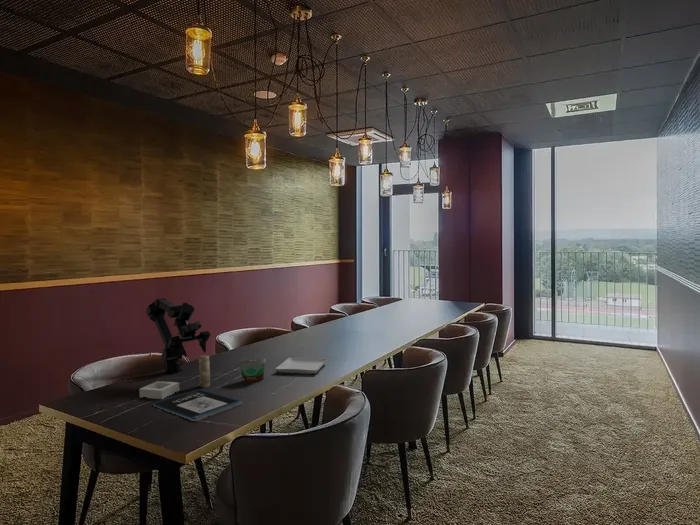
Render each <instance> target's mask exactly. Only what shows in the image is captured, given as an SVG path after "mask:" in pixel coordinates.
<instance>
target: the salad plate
mask: <svg viewBox="0 0 700 525" xmlns="http://www.w3.org/2000/svg"><path fill="white" fill-rule="evenodd" d="M328 360H329V359H328V358H321V357H320V358H319V357H298V356H296V357H288V358H286V360H284V361H283V362H282V363H280V364H279V365H278V366H276V367H275V371H277V372H279V373H283V374H294V373H301V374H300V375H303V374H304V375H314V374H316V373H318V372H319V370H320V369H321V368H322V367H323V366H325V364H326V363H327V362H328Z"/></svg>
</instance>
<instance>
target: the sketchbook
mask: <svg viewBox="0 0 700 525" xmlns="http://www.w3.org/2000/svg"><path fill="white" fill-rule="evenodd" d="M152 405H153V407H155V408H158V409H160V410H162V409H163V410H162V411H165V412H168V413H170V412H171V413H170V414H173V415H175V414H176V416H178V415H179V416H178V417H180V416H181V417H180V418H183V417H184V419H186V418H187V419H186V420H188V419H189V420H188V421H191V422H193V421H195V422H197V421H198V422H199V421H202V420H205V419H207V418H210V417H211V418H212V416H215V415H217V414H218V413H219V412H220V413H222V412H221V411H223V412H224V410H225V412H227V411H229V410H230V409H231V410H232V409H235V406H236V407H240V406H241V405H242V406H244V402H243V401H242V400H239V399H236V398H231V397H228V396H224V395H221V394H217V393H214V392H211V391H207V390H203V389H200V388H199V389H195V390H193V391H190V392H185V393H182V394H179V395H177V396H176V395H175V396H172V397H170V398H165V399H161V400H159V401H156V402H153V403H151V406H152ZM238 405H239V406H238ZM233 407H234V408H233ZM227 409H228V410H227ZM216 413H217V414H216ZM220 413H219V414H220ZM208 416H209V417H208Z"/></svg>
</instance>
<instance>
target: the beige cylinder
mask: <svg viewBox="0 0 700 525" xmlns="http://www.w3.org/2000/svg"><path fill="white" fill-rule="evenodd" d="M198 373H199V376H198V377H199V387H200V388H208V387H210V386H211V368H210V355H208V354H207V355H200V356H198Z"/></svg>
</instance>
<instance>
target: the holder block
mask: <svg viewBox="0 0 700 525" xmlns="http://www.w3.org/2000/svg"><path fill="white" fill-rule="evenodd" d="M138 390H139V391H138V392H139V398H143V397H147V398H146V399H154V400H155V399H156V400H164V399H166V398H167V396H168V397H169V395H170V396H172V395H173V394H175V392H176V393H178V392H180V382H175V381H162V380H156V381H154V382H151V383H150V384H148V385H145V386H142V387H141V388H139V389H138ZM177 391H178V392H177ZM165 397H166V398H165Z"/></svg>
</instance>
